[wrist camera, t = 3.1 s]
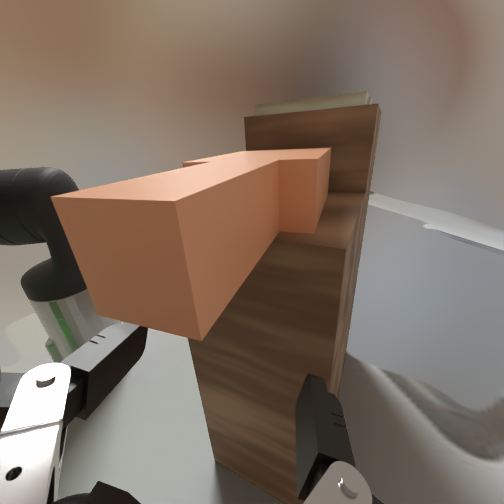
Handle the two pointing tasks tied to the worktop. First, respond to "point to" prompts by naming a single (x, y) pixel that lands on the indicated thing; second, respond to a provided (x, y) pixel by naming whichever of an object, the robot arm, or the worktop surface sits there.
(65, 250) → the robot arm
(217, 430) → the walnut step stand
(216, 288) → the coral tab brick
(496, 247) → the worktop surface
